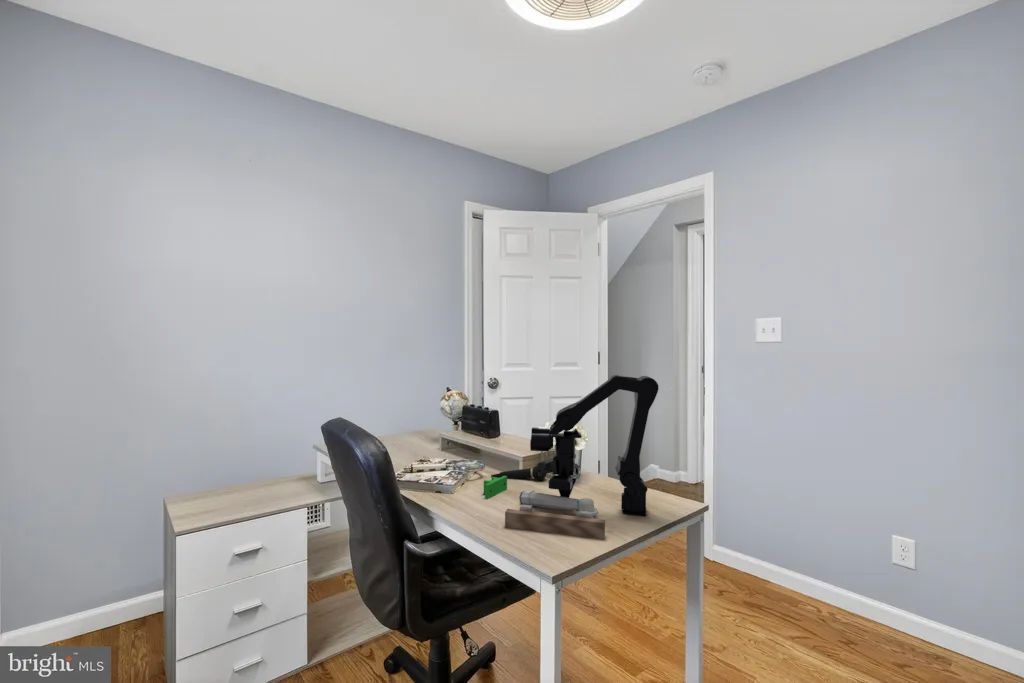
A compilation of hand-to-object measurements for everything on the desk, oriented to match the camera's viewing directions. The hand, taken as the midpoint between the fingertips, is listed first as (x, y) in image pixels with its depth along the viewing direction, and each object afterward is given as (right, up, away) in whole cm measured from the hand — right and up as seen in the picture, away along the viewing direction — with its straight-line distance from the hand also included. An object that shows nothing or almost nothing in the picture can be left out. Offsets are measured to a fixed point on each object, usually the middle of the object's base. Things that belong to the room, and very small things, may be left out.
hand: (564, 504), depth 143 cm
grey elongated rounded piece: (-2, -2, -3) cm, 4 cm away
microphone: (-13, -1, +29) cm, 32 cm away
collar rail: (-5, -1, -17) cm, 17 cm away
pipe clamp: (-21, -1, +13) cm, 25 cm away
